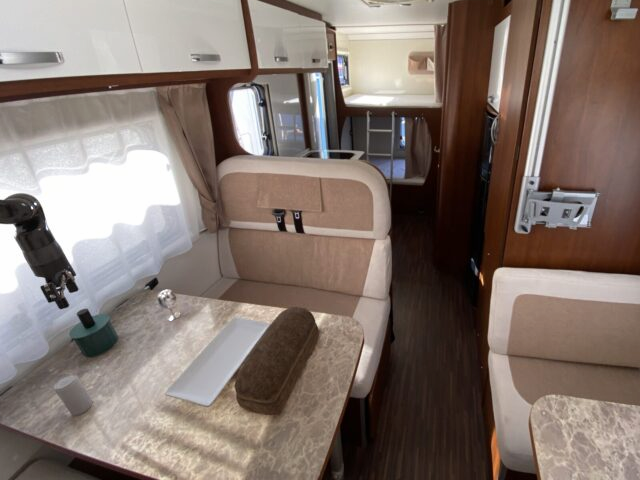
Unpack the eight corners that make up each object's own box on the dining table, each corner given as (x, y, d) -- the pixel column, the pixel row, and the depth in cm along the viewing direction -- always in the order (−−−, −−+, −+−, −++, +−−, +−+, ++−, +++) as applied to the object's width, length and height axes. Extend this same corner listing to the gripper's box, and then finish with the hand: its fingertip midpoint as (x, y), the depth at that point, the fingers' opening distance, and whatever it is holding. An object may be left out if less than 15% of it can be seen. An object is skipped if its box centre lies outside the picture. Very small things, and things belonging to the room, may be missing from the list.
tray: (273, 329, 116) (271, 322, 114) (211, 414, 88) (208, 406, 86) (236, 322, 120) (234, 315, 118) (166, 401, 92) (162, 393, 90)
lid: (65, 345, 102) (55, 329, 99) (76, 324, 111) (66, 308, 108) (107, 331, 107) (98, 315, 104) (113, 311, 116) (105, 296, 113)
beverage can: (95, 405, 92) (78, 378, 87) (75, 420, 88) (55, 393, 83) (90, 397, 94) (73, 370, 89) (69, 411, 90) (51, 384, 86)
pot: (79, 362, 106) (67, 342, 102) (87, 341, 114) (76, 323, 110) (115, 348, 111) (104, 329, 107) (120, 330, 119) (111, 311, 115)
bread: (234, 413, 88) (220, 376, 82) (288, 327, 116) (281, 294, 110) (278, 423, 85) (267, 386, 79) (323, 332, 113) (318, 299, 107)
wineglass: (167, 313, 126) (158, 290, 121) (183, 309, 128) (174, 286, 123) (163, 323, 121) (153, 300, 116) (180, 319, 123) (170, 296, 118)
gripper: (39, 249, 95) (62, 290, 101) (16, 274, 83) (44, 318, 89) (71, 242, 98) (91, 282, 104) (53, 265, 87) (77, 308, 93)
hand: (69, 299), depth 97 cm, fingers open, 8 cm apart
